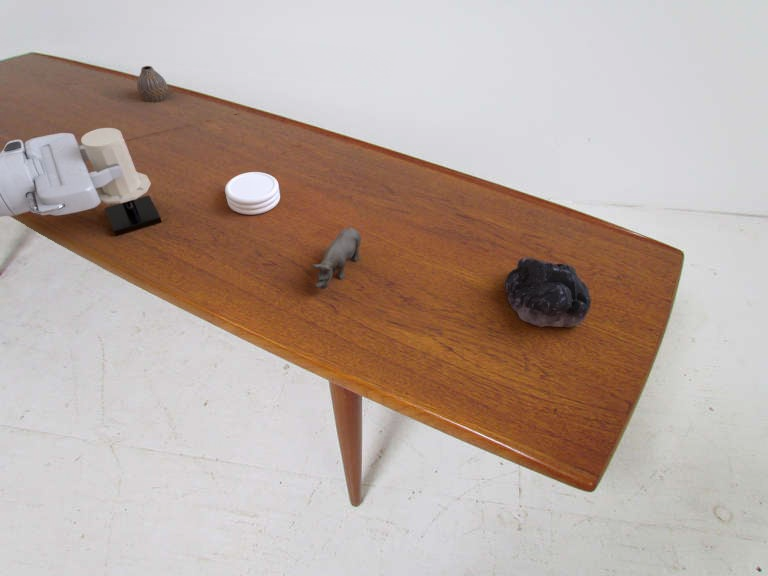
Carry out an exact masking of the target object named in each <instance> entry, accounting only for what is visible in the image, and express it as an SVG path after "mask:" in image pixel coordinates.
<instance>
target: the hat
mask: <svg viewBox="0 0 768 576" xmlns="http://www.w3.org/2000/svg"><path fill="white" fill-rule="evenodd" d="M80 142H81V145H83V147H84V149H85V151H86V153H87V156H88V158H89V160H88V161H89V162H90V164H91V167H92V169H93V172H95V171H97V173H98V172H100V171H102V170H104V169H106V168H108V167H107V165H113V164H116V163H117V164H119V165H120V167H121V169H122V172H123V176H122V177H119V178H116V179H113V180H112V181H110V182H109V183H107V184H106V185H105V186H103V187H99V188H96V191H97V193H98V196H99V198H100V201H101V203H104V204H120V203H124V202H128V201H131V200H135V199H138V198H141V197H143V196H144V195H145V194H146V193H147V192H148V190H149V189H150V187H151V185H152V183H151V181H150V179H149V177H148V175H147V174H145V173H141V172H138V171H137V169H136V167H135V164H134V162H133V159H132V157H131V154H130V151H129V149H128V146H127V143H126V140H125V138H124V137H123V134H122V132H121V130H119V129H117V128H114V127H101V128H96V129H93V130H90V131H88V132H87V133H85V134H84V135H82V137H81V139H80Z"/></svg>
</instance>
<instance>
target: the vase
mask: <svg viewBox="0 0 768 576" xmlns="http://www.w3.org/2000/svg"><path fill="white" fill-rule="evenodd" d="M136 87H137V92H138V94H139V96H140V98H141V100H142V101H143V102H146V103H158V102H163V101H165V100H167V99H168V98H170V90H169V86H168V83H167V82H166V80H165V78H164V77H163V76H162V75H161V74H160V73H159V72H157V70H155V69H154V68H153V66H151V65H145V66H142V67H141V69H140V73H139V75H138V78H137V83H136Z"/></svg>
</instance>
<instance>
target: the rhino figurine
mask: <svg viewBox="0 0 768 576" xmlns="http://www.w3.org/2000/svg"><path fill="white" fill-rule="evenodd" d="M361 238H362V236H361V234H360V232H359V231H358V230H357V229H355V228H354V227H347V228H343V229H342V230H340V231H339V233H338V234H337V236H336V238H334V239H333V241H332V242H331V243H330V245H329V246H328V247H327V248H326V250H325V251H324V252H323V255H322V260H321V262H320V263H319V264H312V267H313V268H314V269H316V270H318V269H319V270H318V274H317V279H318V281H317V284H315V285H314V286H315V288H317V289H319V288H320V289H321V290H325V289H327V288H328V285H329V284H330V281H332V277H333V276H334V272H335V271H336V270H337V273H336V278H338V279H340V280H343V279H345V278H346V273H345V271H344V269H345V267H346V265H347V261H349V260H350V259H351V260H353V261H354V262H357V261H359V260H361V256H360V254H359V253H360V252H359V251H360V245H361V241H362V239H361Z"/></svg>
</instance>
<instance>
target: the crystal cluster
mask: <svg viewBox="0 0 768 576" xmlns="http://www.w3.org/2000/svg"><path fill="white" fill-rule="evenodd" d="M503 288H504V290H505V292H506V293H507V300H508V303H509V305H510V307H511V308H512V310H513V311H514V312H516V313H517V315H518V317H519V319H520V320H522V321H523V322H526V323H529V324H531V325H534V326H536V327H540V328H543V327H556V328H563V327H564V328H573V327H576V326H578V325H581V324H582V323H584V321H585V319H586V317H587V315H588V313H589V311H590V309H591V304H592V298H591V294H590V289H589V288H588V286H587V285H586V283H585V282H584V281H582V280H581V278H580V277H579V276H578V274H577V271H576V268H575V267H573V266H572V265H567V264H564V263H552V262H548V261H542V260H538V259H536V258H532V257H522V258H521V259H519V260H518V261H517V266H516V267H515V268H514V269H512V270H511V271H509V273H508V274H507V276H506V277H505V281H504V284H503Z"/></svg>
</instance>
